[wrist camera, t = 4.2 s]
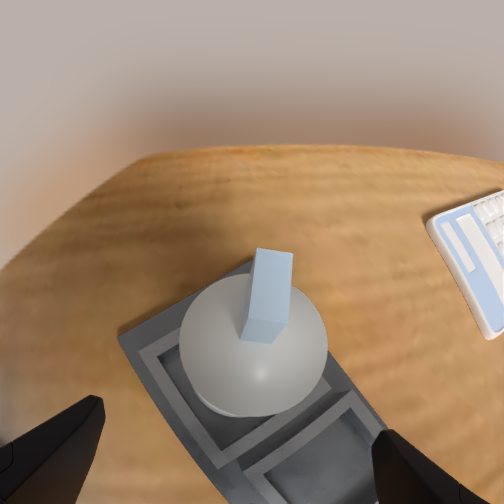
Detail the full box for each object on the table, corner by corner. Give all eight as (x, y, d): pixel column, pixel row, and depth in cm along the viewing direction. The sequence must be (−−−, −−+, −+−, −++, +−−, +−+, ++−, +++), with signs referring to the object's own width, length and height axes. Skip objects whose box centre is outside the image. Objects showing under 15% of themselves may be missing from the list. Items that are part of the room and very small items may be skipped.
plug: (269, 420, 18) (357, 425, 7) (187, 410, 17) (149, 403, 7) (277, 343, 20) (358, 249, 9) (199, 332, 20) (188, 221, 9)
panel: (303, 575, 12) (312, 587, 10) (119, 339, 19) (109, 331, 17) (421, 476, 16) (439, 479, 15) (254, 261, 23) (259, 245, 21)
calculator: (549, 275, 28) (558, 269, 26) (482, 347, 23) (496, 341, 21) (501, 193, 34) (509, 185, 32) (418, 225, 28) (428, 214, 26)
